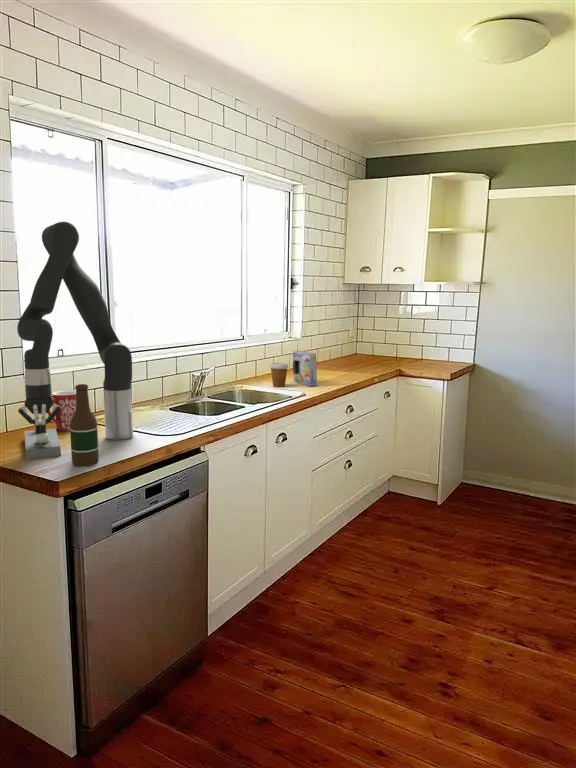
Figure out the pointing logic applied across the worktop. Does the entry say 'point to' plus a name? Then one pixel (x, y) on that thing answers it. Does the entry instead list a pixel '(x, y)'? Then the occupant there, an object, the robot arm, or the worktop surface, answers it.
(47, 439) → the green push button
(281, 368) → the disposable coffee cup
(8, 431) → the worktop surface
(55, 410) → the robot arm
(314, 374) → the cake pan box
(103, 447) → the worktop surface
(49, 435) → the control panel
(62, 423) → the mug
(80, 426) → the beer bottle
